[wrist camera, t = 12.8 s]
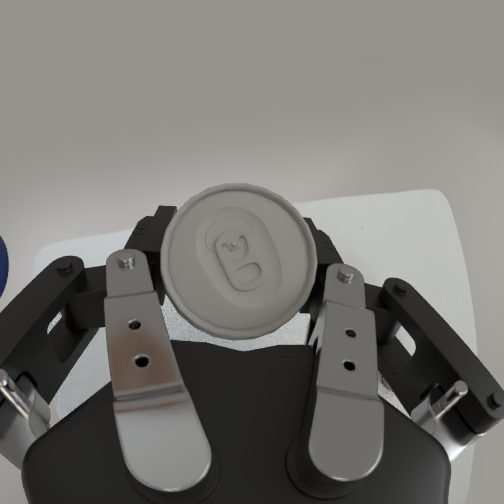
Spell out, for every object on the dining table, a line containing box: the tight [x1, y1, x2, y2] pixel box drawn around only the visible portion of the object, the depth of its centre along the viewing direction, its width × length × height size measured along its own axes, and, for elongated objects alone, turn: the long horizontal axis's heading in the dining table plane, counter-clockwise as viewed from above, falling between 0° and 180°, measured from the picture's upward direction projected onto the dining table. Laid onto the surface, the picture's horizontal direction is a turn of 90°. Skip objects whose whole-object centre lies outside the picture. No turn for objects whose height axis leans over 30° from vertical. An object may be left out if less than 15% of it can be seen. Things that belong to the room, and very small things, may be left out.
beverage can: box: [160, 183, 317, 341], centre depth 14 cm, size 5×5×12 cm
